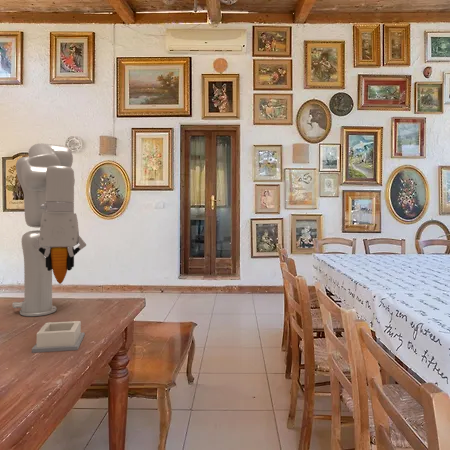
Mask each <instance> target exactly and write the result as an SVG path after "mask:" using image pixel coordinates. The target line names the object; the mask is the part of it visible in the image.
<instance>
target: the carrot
mask: <svg viewBox="0 0 450 450" xmlns="http://www.w3.org/2000/svg"><path fill="white" fill-rule="evenodd" d="M68 257H69V252H68V249H67V247H52V248H51V264H52V275H53V276H54V278H55V280H56V281H57V283H58V284H59V285H61V284H62V283H63V282H64V280H65V279H66V276H67V273H68V270H67V258H68Z"/></svg>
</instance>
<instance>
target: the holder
mask: <svg viewBox="0 0 450 450" xmlns="http://www.w3.org/2000/svg"><path fill="white" fill-rule="evenodd" d="M81 325H82V323H81V320H77V321H74V320H73V321H55V322H45V323H44V325H42V327H41V328H39V331H37V333H36V343H35V344H34V346H32V348H31V353H33V354H34V353H47V352H63V351H64V352H65V351H77V350H78V351H79V349H80V346H81V344H82V342H83V339H84V338H85V332H81V331H82V327H81Z"/></svg>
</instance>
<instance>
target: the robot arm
mask: <svg viewBox="0 0 450 450" xmlns="http://www.w3.org/2000/svg"><path fill="white" fill-rule="evenodd" d="M27 155H28V156H23V157H19V158H18V159H17V161H16V164H15V170H16V177H17V180H18V183H19V185H20V187H21V189H22V192H23V204H24V205H23V206H24V209H23V210H24V220H25V224H26V225H27V226H28V227H29V228H40V229H39V230H30V231H27V232H24V234H23V235H22V237H21V249H22V254H23V264H24V265H23V267H24V268H23V270H24V272H23V273H24V274H23V275H24V277H23V279H24V282H23V283H24V285H23V286H24V287H23V289H24V290H23V292H24V295H23V296H24V297H23V298H24V299H23V300H22V301H20V302H19V301H13V302H12V308H13V309H20V310H19V315H21V316H23V317H40V316H46V315H50V314H53V313H55V312H56V311H57V306H56V305H53V269H52V264H51V248H52V247H67V249H68V252H69V257H68V258H67V271H71V270H73V268H74V267H75V255H76V254H78V253H79V252H80V251H81V250H83V249H84V248H85V247H87V244H86V242H85V241H84V240H83V238H82V237H81V235H80V234H79V231H80V230H79V221H78V216H77V213H75V172H74V169H73V168H72V165H73V162H74V156H73V153H72V150H71V149H70V148H69V147H68V146H65V145H58V144H52V143H51V144H49V143H41V142H40V143H35V144H33V145H31V146H30V148H29V149H28V154H27ZM75 246H77V247H75Z"/></svg>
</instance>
